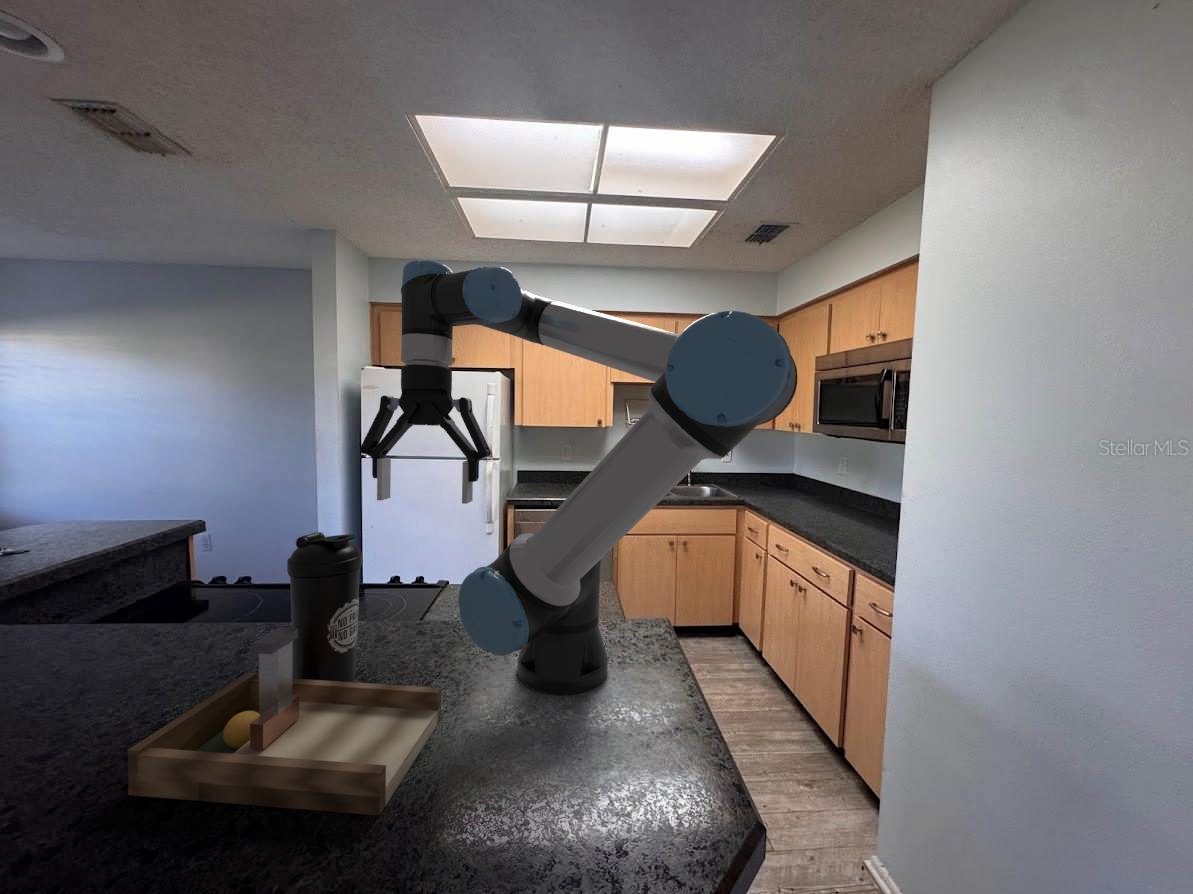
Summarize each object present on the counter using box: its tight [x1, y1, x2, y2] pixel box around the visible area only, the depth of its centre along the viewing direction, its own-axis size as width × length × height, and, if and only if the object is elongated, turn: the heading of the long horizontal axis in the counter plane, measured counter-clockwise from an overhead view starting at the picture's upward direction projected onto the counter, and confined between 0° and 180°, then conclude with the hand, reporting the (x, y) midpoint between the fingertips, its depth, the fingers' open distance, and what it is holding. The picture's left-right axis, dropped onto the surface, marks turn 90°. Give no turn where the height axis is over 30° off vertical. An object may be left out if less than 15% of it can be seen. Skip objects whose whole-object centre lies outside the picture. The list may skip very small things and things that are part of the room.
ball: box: [223, 711, 261, 748], centre depth 58 cm, size 4×4×4 cm
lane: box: [127, 671, 442, 816], centre depth 57 cm, size 28×16×5 cm, turn 86°
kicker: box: [250, 626, 299, 750], centre depth 57 cm, size 2×6×12 cm, turn 176°
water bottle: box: [286, 531, 363, 682], centre depth 73 cm, size 10×10×23 cm
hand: (425, 501), depth 73 cm, fingers open, 13 cm apart
